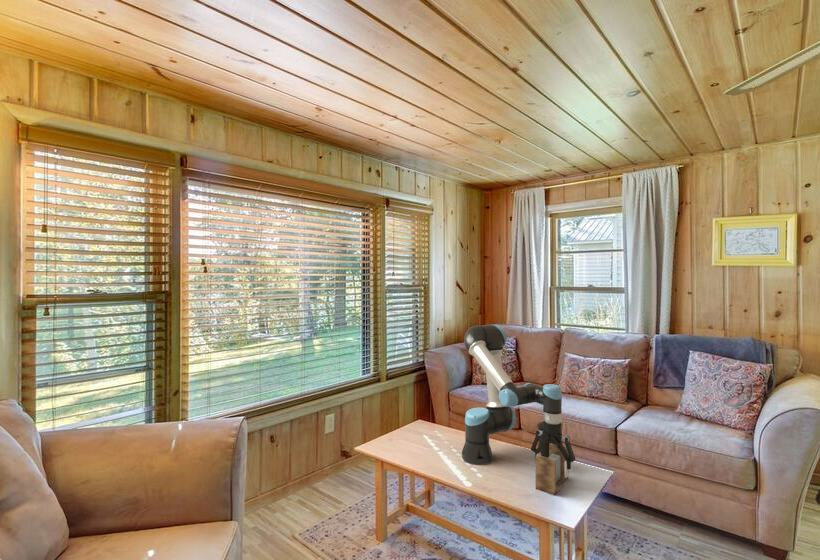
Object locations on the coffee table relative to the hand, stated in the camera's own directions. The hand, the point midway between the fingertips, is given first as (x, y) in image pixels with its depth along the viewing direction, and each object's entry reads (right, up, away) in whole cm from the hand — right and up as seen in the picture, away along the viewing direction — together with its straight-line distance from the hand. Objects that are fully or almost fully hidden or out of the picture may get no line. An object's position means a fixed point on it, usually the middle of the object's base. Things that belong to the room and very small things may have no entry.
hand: (552, 472), depth 175 cm
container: (+3, -5, +17) cm, 18 cm away
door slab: (0, -4, 0) cm, 4 cm away
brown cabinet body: (0, -5, 0) cm, 5 cm away
